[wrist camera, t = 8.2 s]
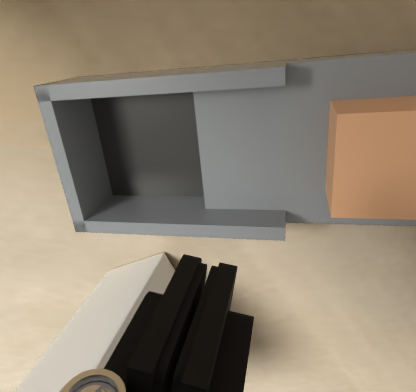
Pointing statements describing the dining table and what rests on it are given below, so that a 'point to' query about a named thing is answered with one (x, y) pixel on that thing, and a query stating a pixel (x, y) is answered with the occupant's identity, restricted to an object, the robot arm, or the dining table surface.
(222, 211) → the gray cradle tray
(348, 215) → the block
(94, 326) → the milk carton
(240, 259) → the dining table surface
